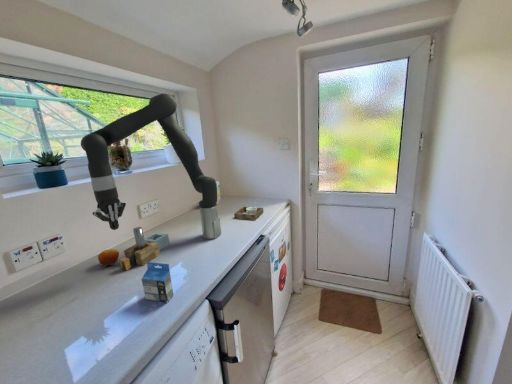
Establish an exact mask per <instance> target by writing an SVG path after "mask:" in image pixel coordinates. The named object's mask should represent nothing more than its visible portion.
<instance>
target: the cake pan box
mask: <svg viewBox="0 0 512 384" xmlns="http://www.w3.org/2000/svg"><path fill="white" fill-rule="evenodd" d="M216 184H217V196H218V199H217V205H218V204H219V203H220V202H221V189H220V188H221V187H220V181H216Z"/></svg>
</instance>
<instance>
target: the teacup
mask: <svg viewBox="0 0 512 384" xmlns="http://www.w3.org/2000/svg"><path fill="white" fill-rule="evenodd" d="M247 207H248V208H246V212H245V214H255V213H257V208H258V207H257V208H256V206H247Z"/></svg>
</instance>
